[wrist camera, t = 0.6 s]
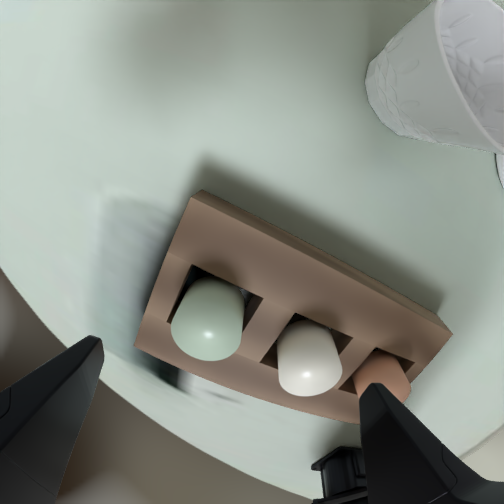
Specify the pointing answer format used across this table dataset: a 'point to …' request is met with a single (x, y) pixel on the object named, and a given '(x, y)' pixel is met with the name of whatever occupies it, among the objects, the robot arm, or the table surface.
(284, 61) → the table surface
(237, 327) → the button sage
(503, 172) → the jar
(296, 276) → the panel
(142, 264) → the table surface
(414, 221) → the table surface
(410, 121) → the white cup
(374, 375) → the button terracotta
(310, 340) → the button cream
